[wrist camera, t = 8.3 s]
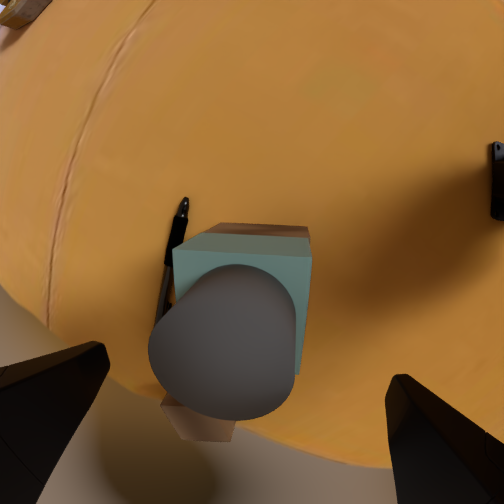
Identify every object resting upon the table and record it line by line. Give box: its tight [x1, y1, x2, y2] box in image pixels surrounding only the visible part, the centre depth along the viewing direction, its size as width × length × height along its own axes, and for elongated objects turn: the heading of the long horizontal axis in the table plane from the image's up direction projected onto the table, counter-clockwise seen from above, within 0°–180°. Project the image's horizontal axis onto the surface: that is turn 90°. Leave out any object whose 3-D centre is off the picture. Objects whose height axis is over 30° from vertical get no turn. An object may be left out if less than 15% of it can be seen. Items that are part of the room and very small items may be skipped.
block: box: [160, 393, 236, 442], centre depth 22 cm, size 5×5×4 cm
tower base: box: [203, 223, 310, 245], centre depth 18 cm, size 6×6×4 cm
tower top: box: [172, 233, 312, 375], centre depth 14 cm, size 6×6×4 cm
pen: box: [153, 197, 189, 329], centre depth 21 cm, size 14×2×1 cm, turn 162°
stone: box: [148, 264, 296, 421], centre depth 10 cm, size 5×5×4 cm
